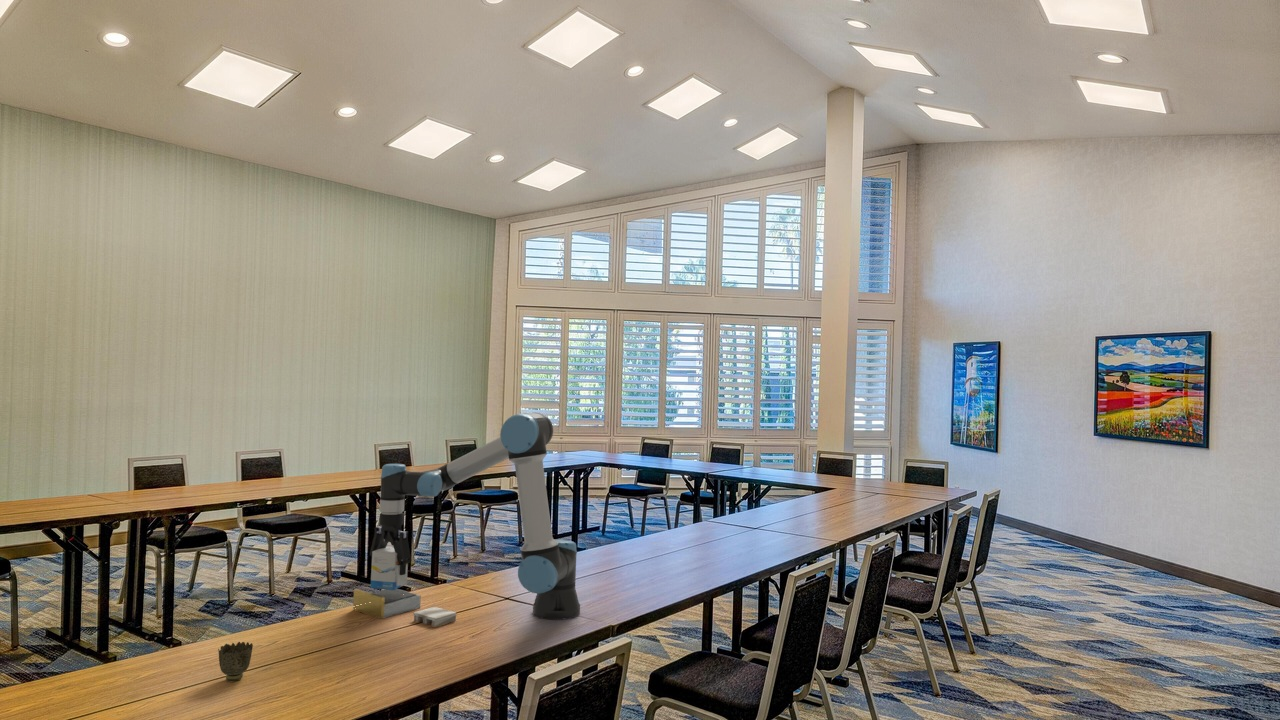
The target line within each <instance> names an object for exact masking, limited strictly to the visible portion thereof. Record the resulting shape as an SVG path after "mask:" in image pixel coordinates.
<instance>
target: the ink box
mask: <svg viewBox="0 0 1280 720" xmlns="http://www.w3.org/2000/svg"><path fill="white" fill-rule="evenodd" d="M397 564H398V560H397V553H395V550H394V547H393V546H386V548H382V549H378V550H375V551H373V552H372V556H371V573H370V589H378V590H396V589H400V588H401V587H403V586H406V585H407V584H408V567H409V563H407V564H406V574H405V583H404V584H403V585H399V586H396V571H397Z"/></svg>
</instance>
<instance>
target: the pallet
mask: <svg viewBox="0 0 1280 720" xmlns="http://www.w3.org/2000/svg"><path fill="white" fill-rule="evenodd" d="M413 617H414V618H413V621H414V622H421V621H422V624H424V625H429V624H431V627H435V628H436V627H439V626H443V625H447V624H450V623H452V622H455V621H457V612H456V611H452V610H448V609H445V608H441V607H437V606H432V607H428V608H425V609H424V608H423V609H420V610H418V611H414V612H413Z"/></svg>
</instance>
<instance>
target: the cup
mask: <svg viewBox="0 0 1280 720" xmlns="http://www.w3.org/2000/svg"><path fill="white" fill-rule="evenodd" d="M253 647H254V645H253V642H251V643H249V641H248V642H246V643H245V641H242V642H240V641H238V642H237V643H236V644H235V643H234V642H232V643H231V644H228V643H225V644H224V645H221V646H220V648H218V649H217V651H218V659H219V669H220V671H221V673H223V674H224V675H225V679H226V681H227V682H230V681H234V682H239V681H241V679H243V676H244V672H246V671H247V669H248V668H249V666H250V664H251V659H252V653H253Z"/></svg>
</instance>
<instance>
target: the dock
mask: <svg viewBox="0 0 1280 720" xmlns="http://www.w3.org/2000/svg"><path fill="white" fill-rule="evenodd" d="M403 594H404V595H403ZM421 597H422V596H421V595H420V594H418V593H414V592H410V591H407V590H403V589H400V588H397V589H396V590H386V589H381V590H378V591H375V592H368V591H364V590H362V589H357V588H356V589H353V601H352V602H353V604H352V606H355V607H352V610H353V609H354V610H353V611H355V610H356V611H355V612H358V613H361V612H362V614H364V613H365V615H368V616H372V617H375V618H378V619H384V618H389V617H392V616H396V615H399V614H403V613H406V612H410V611H414V610H417V609H420V608H421ZM369 602H371V603H369ZM365 603H366V604H365ZM360 604H362V605H360ZM356 605H359V606H356ZM355 608H356V609H355Z"/></svg>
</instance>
